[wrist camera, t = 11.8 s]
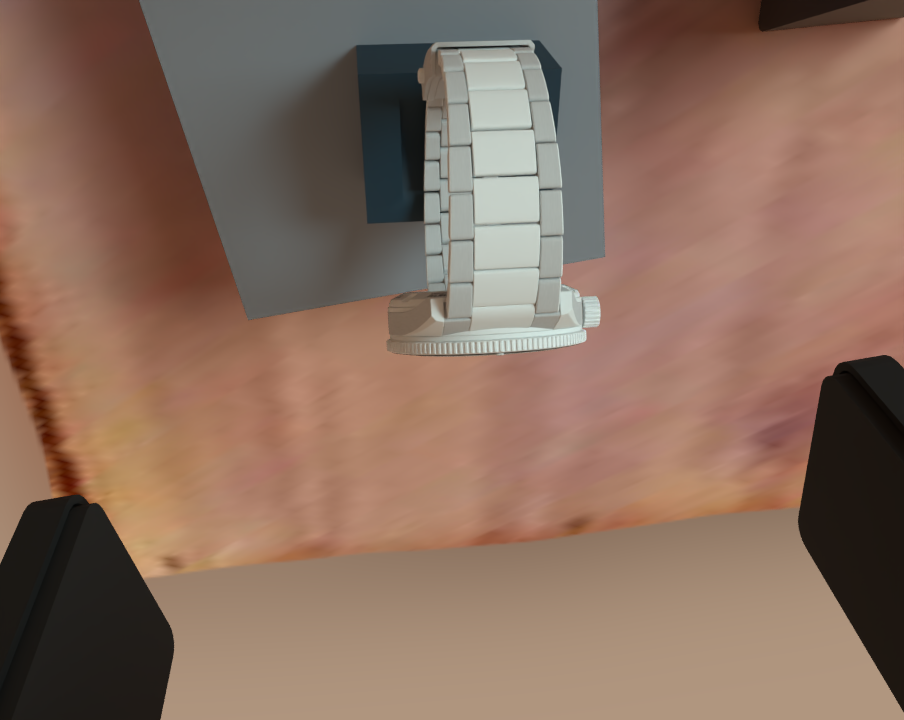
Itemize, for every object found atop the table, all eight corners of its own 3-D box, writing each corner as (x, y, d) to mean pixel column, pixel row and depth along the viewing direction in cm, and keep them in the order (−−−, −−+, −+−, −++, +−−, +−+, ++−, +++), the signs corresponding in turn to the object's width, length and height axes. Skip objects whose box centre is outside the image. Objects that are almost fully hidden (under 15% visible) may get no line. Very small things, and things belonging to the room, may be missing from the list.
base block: (152, -111, 26) (108, -90, 21) (546, -178, 26) (592, -173, 21) (262, 244, 34) (248, 320, 29) (567, 190, 34) (605, 257, 29)
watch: (368, 236, 27) (380, 450, 18) (352, -21, 23) (356, 98, 14) (530, 229, 28) (618, 433, 19) (546, -24, 23) (672, 87, 14)
